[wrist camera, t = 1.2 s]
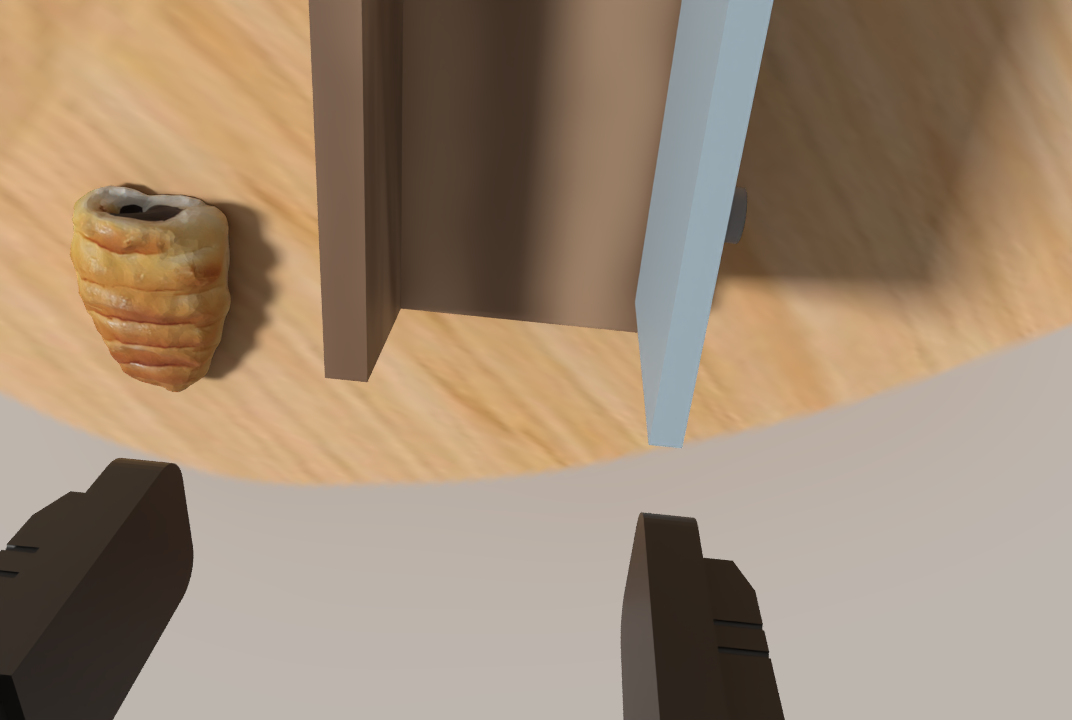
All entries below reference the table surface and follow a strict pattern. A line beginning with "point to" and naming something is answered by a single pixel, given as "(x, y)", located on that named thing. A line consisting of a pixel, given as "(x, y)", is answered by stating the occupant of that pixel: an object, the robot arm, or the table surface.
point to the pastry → (153, 280)
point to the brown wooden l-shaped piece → (483, 161)
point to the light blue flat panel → (694, 199)
